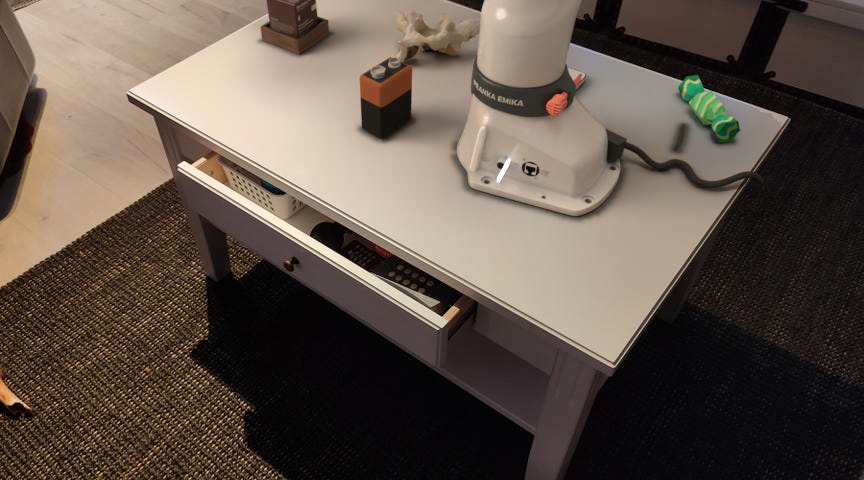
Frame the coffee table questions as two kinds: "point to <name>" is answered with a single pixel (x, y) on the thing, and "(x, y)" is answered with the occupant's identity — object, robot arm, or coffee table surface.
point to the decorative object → (432, 34)
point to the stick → (680, 136)
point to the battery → (386, 97)
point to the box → (292, 16)
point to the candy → (709, 109)
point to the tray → (295, 43)
